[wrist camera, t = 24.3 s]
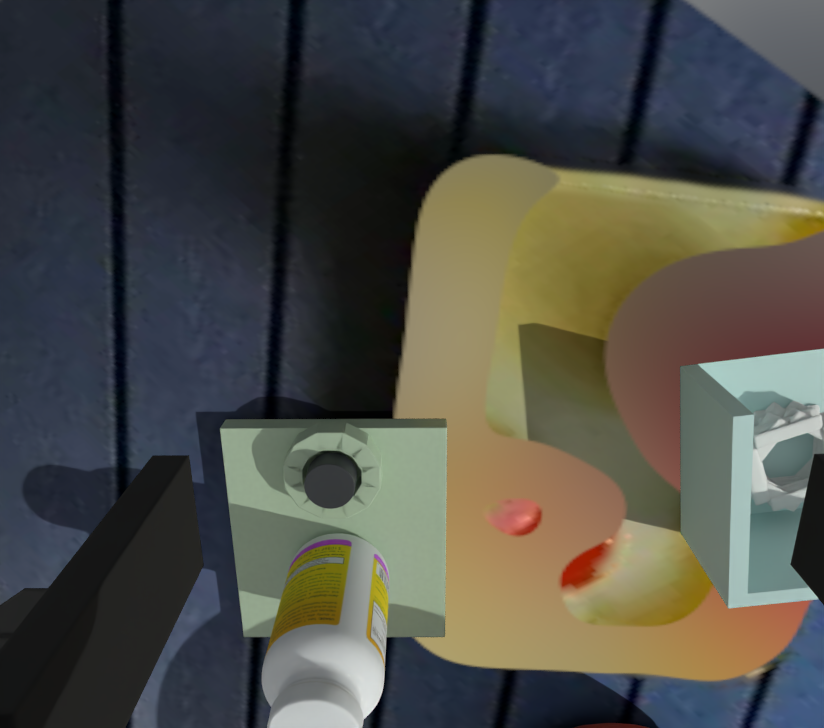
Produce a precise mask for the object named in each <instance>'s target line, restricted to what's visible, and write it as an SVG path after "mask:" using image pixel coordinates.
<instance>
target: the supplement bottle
mask: <svg viewBox="0 0 824 728" xmlns="http://www.w3.org/2000/svg"><path fill="white" fill-rule="evenodd" d="M388 602H389V572H388V567H387V564H386V562H385V560H384V558H383V556H382V555H381V553H380V552H379V551H378V550H377V549H376V548H375V547H374V546H373V545H372V544H370V543H369V542H367V541H365V540H363V539H361V538H359V537H356V536H353V535H349V534H343V533H333V534H326V535H322V536H319V537H317V538H314V539H312V540H311V541H309V542H307V543H306V544H305V545H303V546H302V547H301V548H300V549H299V551H298V552H297V553H296V555H295V556H294V558H293V560H292V562H291V565H290V568H289V571H288V575H287V578H286V582H285V586H284V589H283V593H282V597H281V600H280V604H279V608H278V611H277V615H276V619H275V622H274V626H273V630H272V633H271V637H270V641H269V644H268V648H267V652H266V655H265V659H264V664H263V668H262V687H263V691H264V694H265V697H266V699H267V701H268V703H269V705H270V706H271V711H270V715H269V720H268V724H267V728H362V727H363V721H364V719H365V718H366V717H367V716H368V715H369V714H370V713H371V712H372V710H373V709H374V708H375V707H376V705H377V703H378V701H379V699H380V697H381V695H382V691H383V686H384V676H385V655H386V636H387V621H388Z"/></svg>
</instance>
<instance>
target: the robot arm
mask: <svg viewBox="0 0 824 728" xmlns="http://www.w3.org/2000/svg"><path fill="white" fill-rule="evenodd" d="M790 565H791V566H792V567H793V568H794V570H795V571H796V572H797V573H798V574H799V576H800V577H801V578H802V579H803V580H804V582H805V583H806V584H807V585H808V586H809V588H810V589H811V590H812V591H813V592H814V594H815V595H816V596H817V597H818V599H819V600H820V601H821V602H822V603H823V605H824V454H814V457H813V462H812V466H811V471H810V476H809V480H808V485H807V490H806V494H805V499H804V504H803V508H802V513H801V517H800V522H799V527H798V531H797V536H796V541H795V545H794V550H793V555H792V559H791V564H790ZM202 567H203V557H202V550H201V542H200V535H199V527H198V520H197V513H196V505H195V498H194V490H193V483H192V475H191V468H190V460H189V456H152V457H151V459H150V460H149V461H148V462H147V464H146V465H145V466H144V467H143V469H142V470H141V471H140V473H139V474H138V475H137V476H136V478H135V479H134V480H133V481H132V483H131V484H130V485H129V486H128V488H127V489H126V490H125V492H124V493H123V494H122V495H121V497H120V498H119V499H118V500H117V502H116V503H115V504H114V506H113V507H112V508H111V509H110V511H109V512H108V513H107V514H106V516H105V517H104V518H103V519H102V521H101V522H100V523H99V525H98V526H97V527H96V528H95V530H94V531H93V532H92V533H91V535H90V536H89V537H88V539H87V540H86V541H85V542H84V544H83V545H82V546H81V547H80V549H79V550H78V551H77V552H76V554H75V555H74V556H73V558H72V559H71V560H70V561H69V563H68V564H67V565H66V566H65V568H64V569H63V570H62V572H61V573H60V574H59V575H58V577H57V578H56V579H55V580H54V582H53V583H52V584H51V586H50V587H49V588H25V589H23V590H22V591H20V592H19V593H17V594H16V595H14V596H13V597H11V598H10V599H9V600H7V601H6V602H4V603H3V604H1V605H0V728H125V727H126V725H127V723H128V721H129V719H130V717H131V715H132V713H133V710H134V708H135V706H136V704H137V702H138V700H139V698H140V696H141V694H142V692H143V690H144V688H145V686H146V683H147V681H148V679H149V677H150V675H151V673H152V671H153V669H154V667H155V665H156V663H157V661H158V659H159V656H160V654H161V652H162V650H163V648H164V646H165V644H166V642H167V640H168V638H169V636H170V634H171V632H172V629H173V627H174V625H175V623H176V621H177V619H178V617H179V615H180V613H181V611H182V609H183V607H184V605H185V602H186V600H187V598H188V596H189V594H190V592H191V590H192V588H193V586H194V584H195V582H196V580H197V578H198V576H199V573H200V571H201V569H202Z"/></svg>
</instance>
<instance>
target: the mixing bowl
mask: <svg viewBox="0 0 824 728" xmlns="http://www.w3.org/2000/svg"><path fill="white" fill-rule="evenodd" d="M574 728H648V727H644V726H640V725H634V724H622V723H599V724H588V725H582V726H578V727H574Z"/></svg>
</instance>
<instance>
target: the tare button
mask: <svg viewBox="0 0 824 728" xmlns="http://www.w3.org/2000/svg"><path fill="white" fill-rule="evenodd" d="M356 480H357V470H356V467H355V465H354V464H353V462H352V461H351V460H350V459H349V458H348V457H346V456H344V455H342V454H339V453H335V452H328V453H324V454H321V455H319V456H317V457H316V458H315V459H314V460H313V461H312V462H311V463H310V466H309V468H308V472H307V475H306V478H305V481H304V489H305V493H306V495H307V497H308V498H309V499H310V500H311V501H312V502H313V503H314V504H316V505H317V506H320V507H322V508H327V509H334V508H339V507H342V506H344V505H345V504H347V503H348V502H349V501H350V500H351V498H352V497H353V495H354V492H355V486H356Z"/></svg>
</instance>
